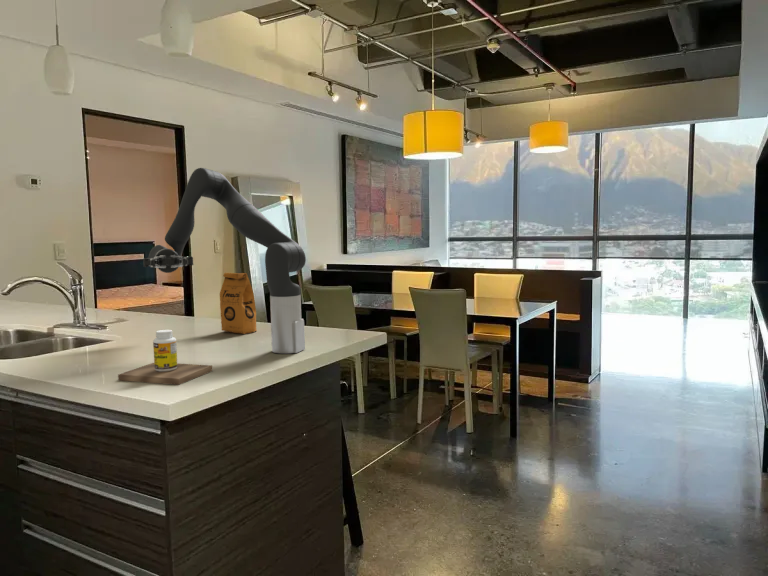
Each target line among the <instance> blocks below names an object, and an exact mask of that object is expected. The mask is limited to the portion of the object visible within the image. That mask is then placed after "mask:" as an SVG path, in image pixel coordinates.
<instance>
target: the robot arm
mask: <svg viewBox="0 0 768 576" xmlns="http://www.w3.org/2000/svg"><path fill="white" fill-rule="evenodd" d="M202 197H203V198H207V199H212V200H214V201H216V203H217V202H218V203H219V204H220V205H221V206H222V207H223V208H224V209H225V211H226V217H227V220H228V222H229V223H230V224H231V225H232V227H233V228H235V230H237V232H238V233H239V234H241V235H242V236H244V237H245V238H247V239H248V240H250V241H253V242H255V243H256V244H257V243H258V244H259V245H261V246H264V247H265V248H266V251H265V255H264V263H265V264H264V265H265V274H266V277H265V278H266V285H267V288H268V290H269V302H270V306H269V307H270V331H271V351H272V353H275V354H297V353H300V352H301V351H304V350H306V342H305V341H306V340H305V339H306V338H305V336H306V335H305V334H306V333H305V320H304V318H302V302H301V301H302V297H301V295H302V294H301V286H300V285H299V284H297V283H295V282H293V281H292V280H291V277H290V276H291V275H290V273H294V272H298V271H300V270H302V269H304V268H305V265H306V260H307V259H306V254H305V251H304V249H303V248H302V246H301V245H300V244H299V243H298V242H296V241H295V240H293V239H292V238H291V237H290V236H288V235H286V234H285V233H284V232H282V231H281V230H280V229H279V228H277V226H276V225H275V224H273V222H271V221H270V220H269V219H268V218H267V217H266V216H264V214H262V212H261V211H259V209H258V208H256V206H254V204H252V203H251V202H250V201H249V200H247V199H246V198H245V197H244V196H243V195H242V194H241V193H240V192H238V190H237V189H236V188H235V187H234V186H233V185H232V183H231V182H230V181H229V180H228V179H227V177H226V176H225V175H223V174H222V173H221V172H219V171H217V170H213V169H208V168H206V167H198V168H196V169H194V171H193V172H192V173H191V174H190V176H189V179H188V182H187V184H186V187H185V190H184V192H183V196H182V199H181V202H180V205H179V208H178V210H177V213H176V215H175V218H174V220H173V221H172V223H171V225H170V226H169V229H168V230H167V232H166V234H165V236H164V241H165V243H166V244H167V246H170V248H171V249H170V248H167V247H165V246H164V245H162V244H158V245H157V244H156V245H155V246H153V247H152V248H151V250H150V251H149V254H148V257H143V259H142V261H143V267H144V268H148V267H150V268H156V269H158V270H159V271H160V272H162V273H167V274H168V273H169V274H170V273H173V272H176V271H177V270H179V268H181V267H182V268H183V266H184V267H187V266H194V257H193V256H190V255H188V256H183V252H184V248H185V246H186V244H187V242H188V240H189V239H190V236H191V235H192V233H193V231H194V228H195V209H196V206H197V204H198V202H199V200H200V199H201V198H202Z"/></svg>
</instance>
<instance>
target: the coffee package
mask: <svg viewBox="0 0 768 576" xmlns="http://www.w3.org/2000/svg"><path fill="white" fill-rule="evenodd" d="M222 277H224V279H223V283H222V285H221V289H220V291H219V305H220V306H219V309H220V321H221V322H220V323H221V331H223V332H227V333H229V332H230V333H235V334H243V335H245V334H251V333H256V332H257V309H256V302H255V296H254V295H255V294H254V291H253V287H252V285H251V281H250V279H249V277H248V274H247V273H246V272H241V273H239V272H238V273H236V272H224V273H223V276H222ZM255 331H256V332H255Z"/></svg>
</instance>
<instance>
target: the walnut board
mask: <svg viewBox="0 0 768 576" xmlns="http://www.w3.org/2000/svg"><path fill="white" fill-rule="evenodd" d="M211 372H213V365H208V364H196V363H195V364H194V363H193V364H192V363H178V362H177V368H176V369H175V370H172V371H167V372H159V371H156V370H155V365H154V362H152V363H149V364H146V365H142V366H140V367H136V368H133V369H130V370H128V371H125V372H124V371H123V372H122V373H119V374H117V379H118V381H122V382H133V383H134V382H135V383H137V382H138V383H150V384H151V383H152V384H165V385H167V384H168V385H177V386H180V385H183V384H184V383H187V382H189V381H191V380H195V379H196V378H200V377H202V376H204V375H206V374H209V373H211Z"/></svg>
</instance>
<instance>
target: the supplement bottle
mask: <svg viewBox="0 0 768 576" xmlns="http://www.w3.org/2000/svg"><path fill="white" fill-rule="evenodd" d="M152 341H153V342H152V343H153V344H152V346H153V361H154V362H153V363H154V365H155V370H156V371H159V372H167V371H172V370H175V369H176V368H177V363H178V352H177V350H178V349H177V348H178V347H177V338H176V337H174V336H173V330H172V329H161V330H160V329H159V330H156V331H155V338H154V339H153V340H152Z"/></svg>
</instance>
